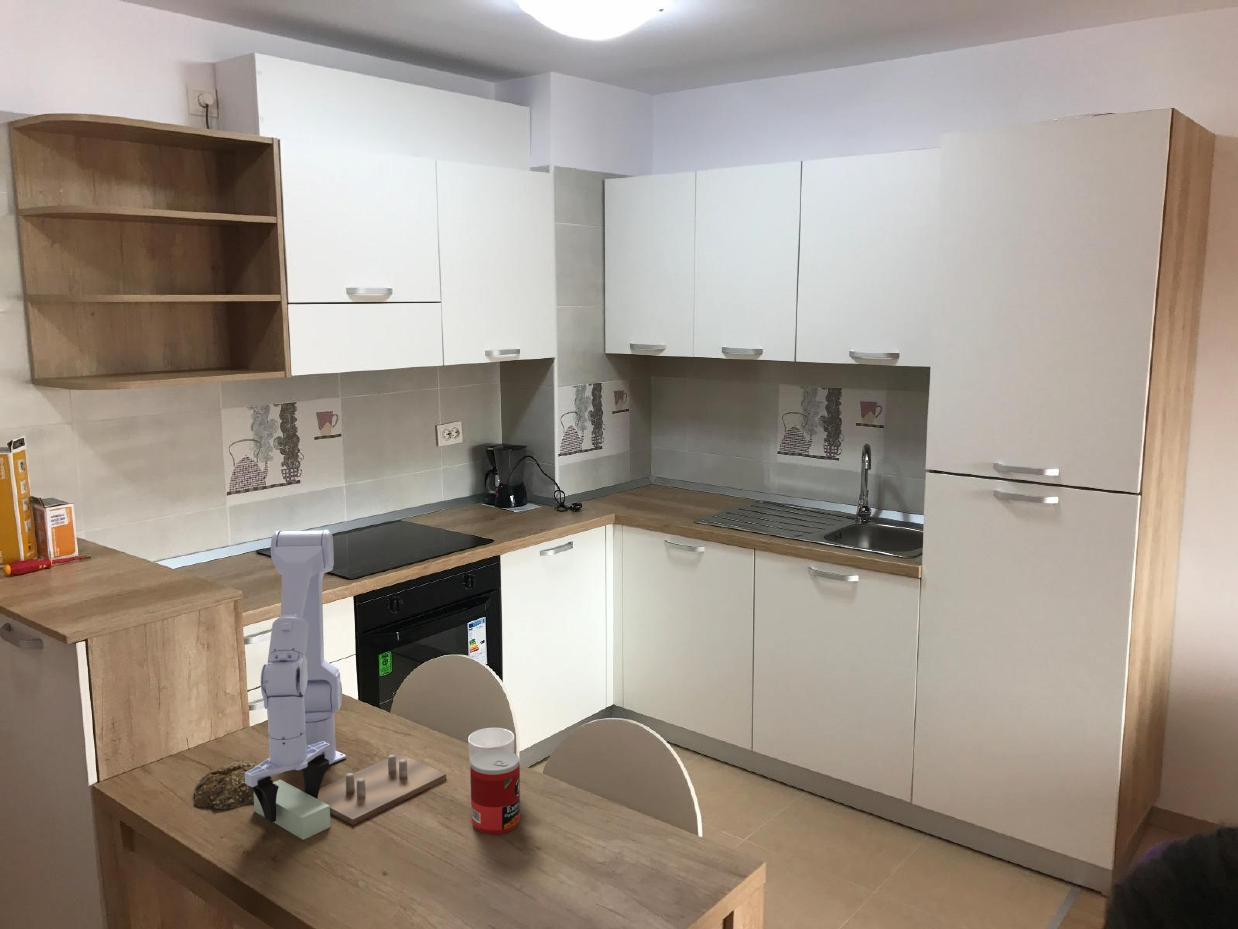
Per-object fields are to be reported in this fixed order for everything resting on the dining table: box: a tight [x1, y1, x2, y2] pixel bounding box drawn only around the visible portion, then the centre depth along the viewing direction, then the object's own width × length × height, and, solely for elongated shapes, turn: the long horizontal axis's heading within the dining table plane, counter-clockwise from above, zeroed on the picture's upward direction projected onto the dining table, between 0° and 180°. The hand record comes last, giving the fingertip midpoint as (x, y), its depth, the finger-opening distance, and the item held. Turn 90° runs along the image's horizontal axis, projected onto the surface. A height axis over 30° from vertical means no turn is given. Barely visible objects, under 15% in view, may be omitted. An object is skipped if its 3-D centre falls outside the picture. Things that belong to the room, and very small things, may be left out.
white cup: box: [467, 727, 515, 764], centre depth 170 cm, size 8×8×10 cm
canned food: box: [469, 750, 521, 835], centre depth 160 cm, size 8×8×11 cm
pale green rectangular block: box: [253, 779, 331, 841], centre depth 161 cm, size 14×5×4 cm, turn 51°
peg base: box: [317, 753, 447, 826], centre depth 171 cm, size 13×20×4 cm, turn 142°
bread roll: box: [193, 760, 273, 810], centre depth 170 cm, size 13×12×5 cm
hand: (291, 810), depth 161 cm, fingers open, 7 cm apart
